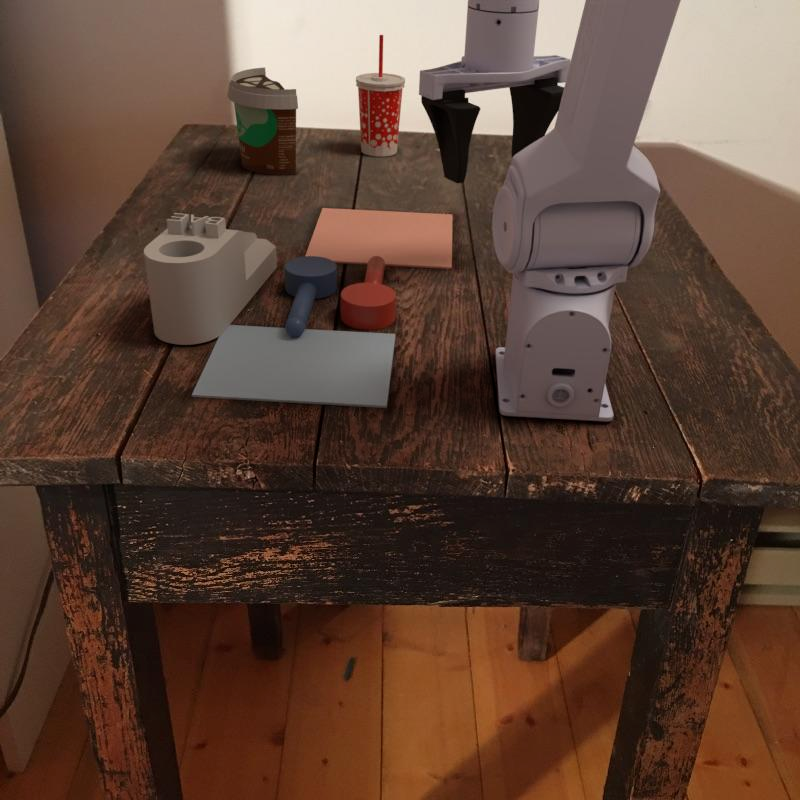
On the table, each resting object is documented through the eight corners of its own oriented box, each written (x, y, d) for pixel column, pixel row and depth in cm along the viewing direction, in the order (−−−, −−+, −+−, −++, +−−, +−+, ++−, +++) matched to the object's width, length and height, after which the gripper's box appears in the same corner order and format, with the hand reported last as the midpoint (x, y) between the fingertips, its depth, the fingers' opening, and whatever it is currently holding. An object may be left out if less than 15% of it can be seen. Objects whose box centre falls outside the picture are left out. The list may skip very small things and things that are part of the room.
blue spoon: (289, 277, 84) (288, 254, 82) (339, 279, 83) (339, 257, 82) (265, 338, 73) (263, 313, 72) (322, 341, 73) (322, 316, 72)
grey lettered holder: (281, 261, 86) (277, 178, 82) (210, 348, 71) (201, 251, 67) (224, 255, 87) (217, 173, 83) (142, 340, 72) (128, 244, 68)
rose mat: (451, 269, 86) (451, 267, 86) (303, 261, 87) (303, 259, 87) (452, 216, 98) (452, 214, 98) (322, 209, 99) (322, 207, 98)
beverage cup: (411, 149, 118) (416, 34, 111) (386, 161, 114) (389, 42, 106) (372, 141, 121) (374, 28, 113) (345, 152, 116) (345, 35, 109)
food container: (219, 152, 114) (213, 69, 109) (267, 148, 117) (263, 66, 111) (249, 183, 105) (244, 94, 100) (300, 177, 107) (297, 90, 102)
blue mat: (386, 408, 65) (386, 405, 65) (191, 397, 66) (191, 394, 66) (395, 336, 75) (395, 333, 74) (224, 326, 75) (224, 324, 75)
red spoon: (393, 331, 75) (394, 307, 74) (337, 328, 75) (337, 304, 74) (401, 270, 86) (402, 248, 85) (352, 267, 86) (352, 245, 85)
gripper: (538, -5, 80) (522, 149, 87) (400, 5, 73) (395, 172, 80) (595, 8, 75) (573, 170, 82) (452, 20, 68) (442, 196, 75)
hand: (488, 173), depth 81 cm, fingers open, 7 cm apart
